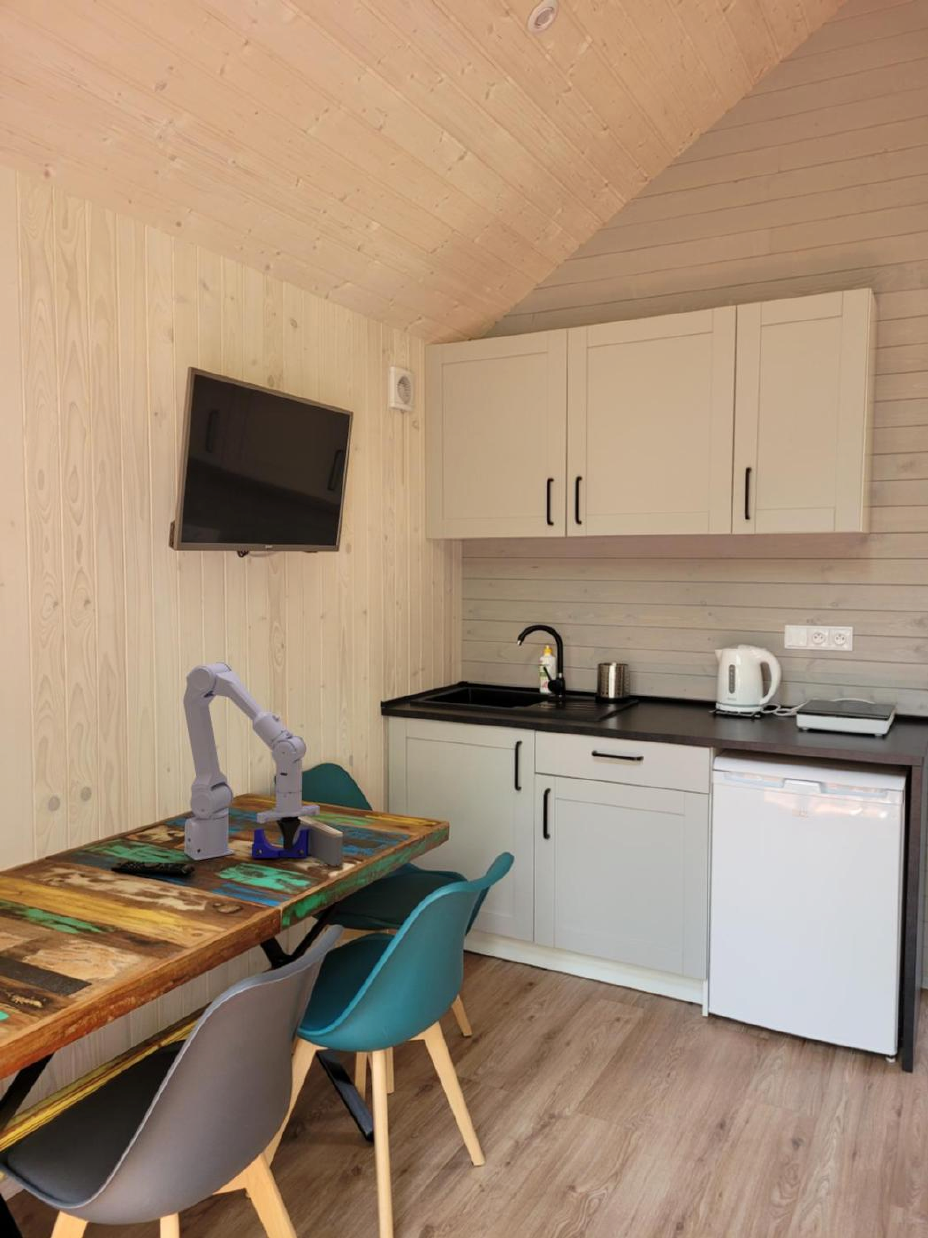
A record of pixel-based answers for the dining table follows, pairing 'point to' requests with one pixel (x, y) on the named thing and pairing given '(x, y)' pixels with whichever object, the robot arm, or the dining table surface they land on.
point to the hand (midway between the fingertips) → (288, 850)
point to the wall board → (322, 841)
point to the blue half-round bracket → (275, 852)
